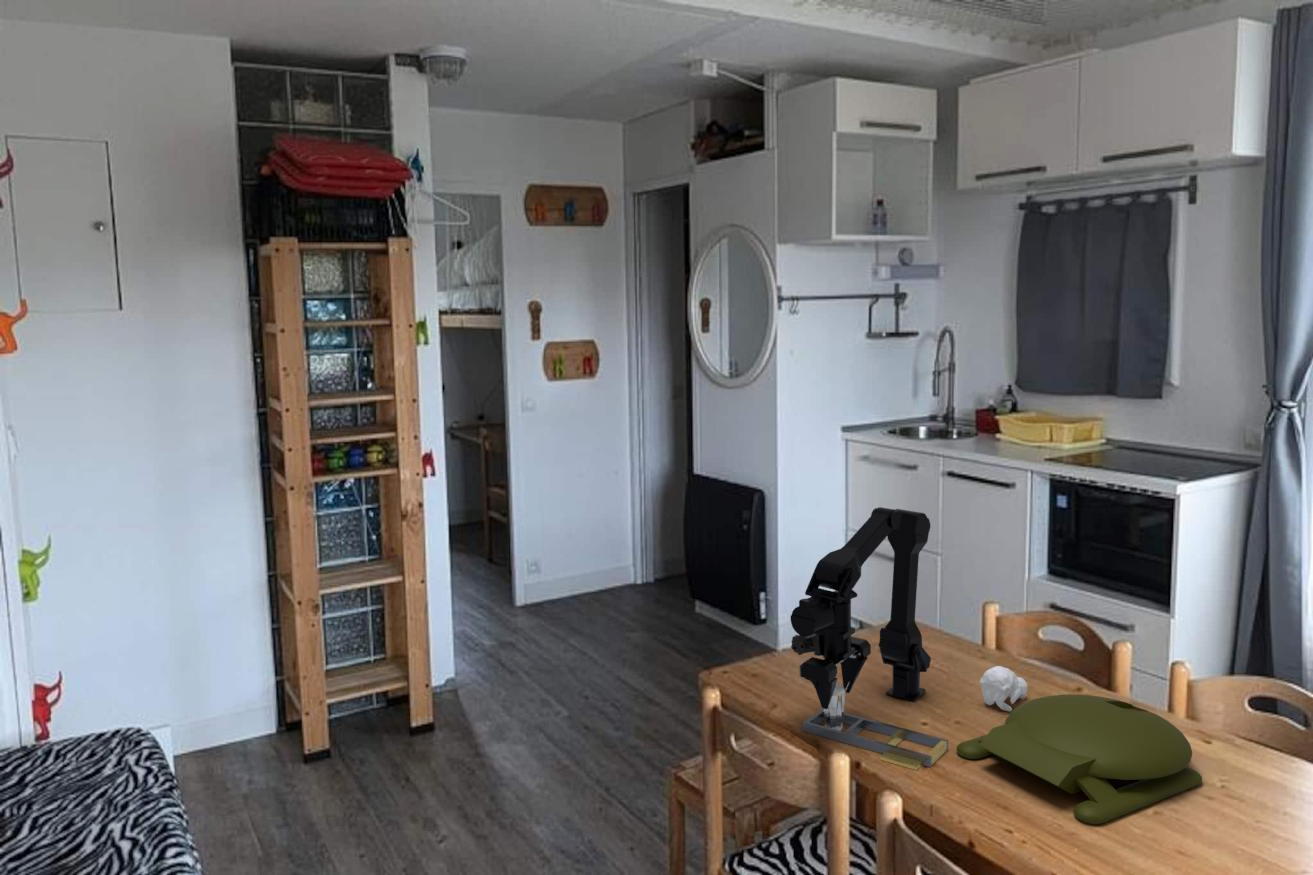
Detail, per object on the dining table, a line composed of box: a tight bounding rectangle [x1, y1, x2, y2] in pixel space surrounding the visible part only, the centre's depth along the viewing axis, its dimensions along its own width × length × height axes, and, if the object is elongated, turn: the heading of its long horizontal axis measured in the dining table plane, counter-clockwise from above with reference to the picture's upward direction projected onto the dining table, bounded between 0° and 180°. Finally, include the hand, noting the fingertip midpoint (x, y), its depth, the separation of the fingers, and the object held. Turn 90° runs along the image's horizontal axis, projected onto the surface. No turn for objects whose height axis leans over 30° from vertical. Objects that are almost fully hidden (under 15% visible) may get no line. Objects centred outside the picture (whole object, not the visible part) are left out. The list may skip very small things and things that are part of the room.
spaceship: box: [956, 693, 1203, 825], centre depth 173 cm, size 35×31×10 cm
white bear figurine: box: [979, 665, 1028, 713], centre depth 199 cm, size 6×8×12 cm
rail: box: [802, 707, 949, 771], centre depth 184 cm, size 13×26×2 cm, turn 52°
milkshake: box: [823, 681, 850, 731], centre depth 189 cm, size 4×5×10 cm
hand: (836, 700), depth 189 cm, fingers open, 9 cm apart
